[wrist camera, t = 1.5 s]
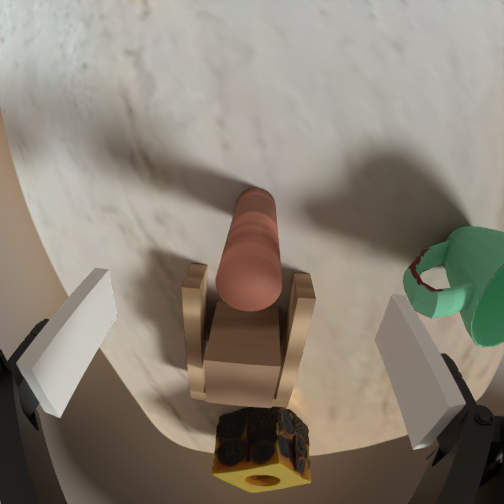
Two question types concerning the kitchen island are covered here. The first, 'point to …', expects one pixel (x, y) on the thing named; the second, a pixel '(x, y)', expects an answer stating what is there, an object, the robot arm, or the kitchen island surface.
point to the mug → (464, 282)
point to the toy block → (262, 449)
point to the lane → (291, 341)
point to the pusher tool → (247, 308)
